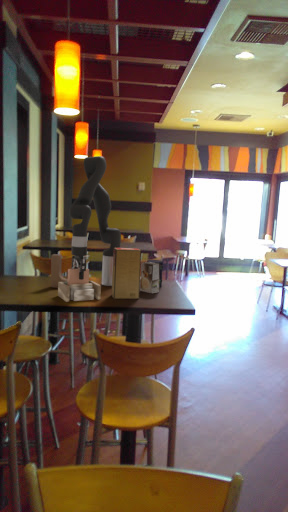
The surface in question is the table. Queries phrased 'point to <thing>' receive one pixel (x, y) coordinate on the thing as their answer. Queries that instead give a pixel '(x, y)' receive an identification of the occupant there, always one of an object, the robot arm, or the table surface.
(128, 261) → the food packaging
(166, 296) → the table surface
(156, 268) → the coffee box
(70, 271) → the pink rectangular block
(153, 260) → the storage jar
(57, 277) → the wooden block
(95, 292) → the offcut rack
